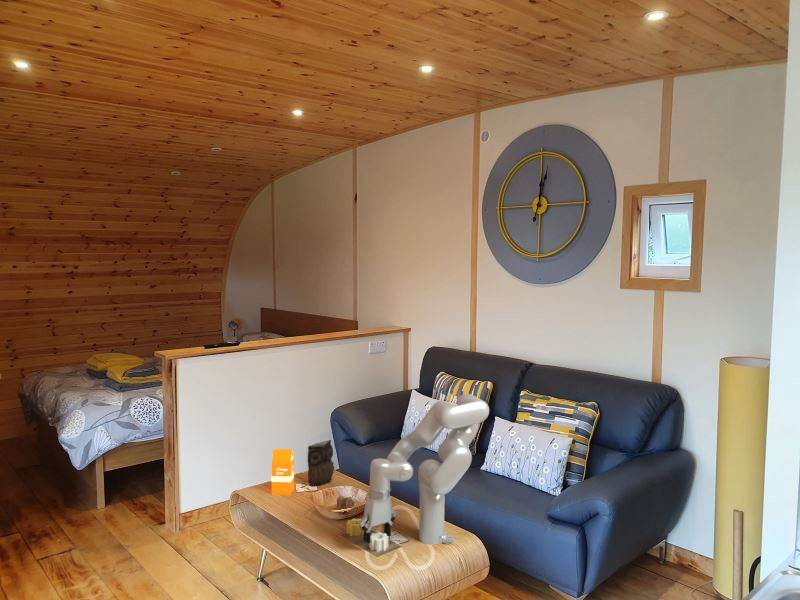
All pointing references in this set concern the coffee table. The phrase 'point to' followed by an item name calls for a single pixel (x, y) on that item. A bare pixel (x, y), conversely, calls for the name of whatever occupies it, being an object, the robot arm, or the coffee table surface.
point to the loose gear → (378, 541)
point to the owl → (320, 463)
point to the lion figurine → (345, 502)
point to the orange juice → (282, 472)
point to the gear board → (361, 543)
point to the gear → (354, 527)
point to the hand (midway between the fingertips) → (377, 538)
